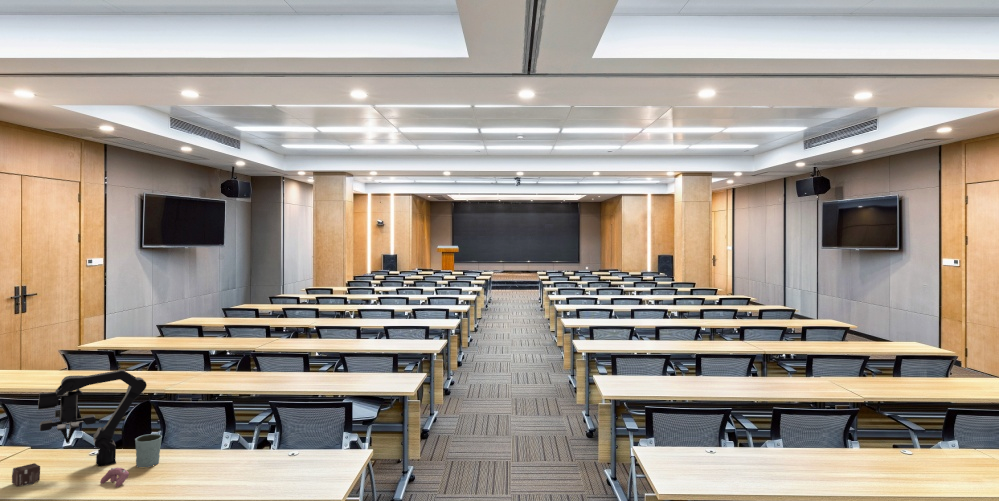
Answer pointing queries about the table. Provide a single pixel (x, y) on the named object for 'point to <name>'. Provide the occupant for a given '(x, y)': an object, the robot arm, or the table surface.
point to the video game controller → (115, 476)
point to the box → (26, 474)
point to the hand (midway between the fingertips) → (67, 442)
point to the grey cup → (148, 450)
